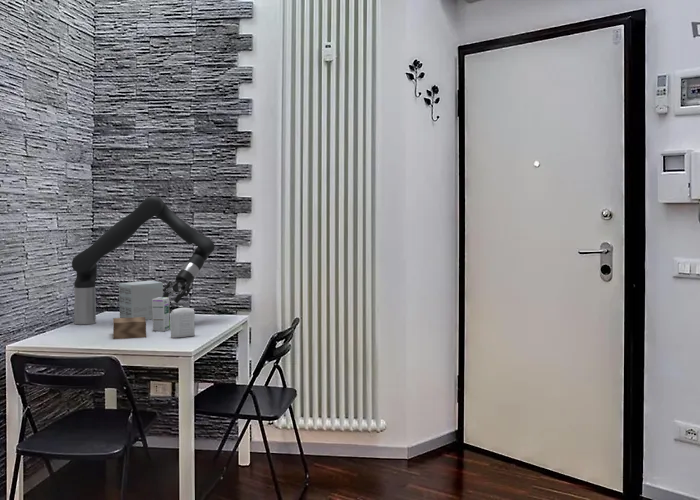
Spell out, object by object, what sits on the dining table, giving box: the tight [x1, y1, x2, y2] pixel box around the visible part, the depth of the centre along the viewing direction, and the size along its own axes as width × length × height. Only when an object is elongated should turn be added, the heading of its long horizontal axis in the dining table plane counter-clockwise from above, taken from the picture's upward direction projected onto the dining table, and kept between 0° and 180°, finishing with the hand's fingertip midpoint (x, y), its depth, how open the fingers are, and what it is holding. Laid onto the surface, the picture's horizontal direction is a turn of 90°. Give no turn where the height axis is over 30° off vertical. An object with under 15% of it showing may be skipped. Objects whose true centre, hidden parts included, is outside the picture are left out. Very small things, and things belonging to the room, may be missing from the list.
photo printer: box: [170, 307, 196, 339], centre depth 286 cm, size 10×4×12 cm, turn 126°
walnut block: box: [112, 317, 147, 340], centre depth 288 cm, size 13×13×7 cm
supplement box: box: [118, 280, 164, 321], centre depth 334 cm, size 17×13×18 cm
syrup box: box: [152, 296, 171, 332], centre depth 302 cm, size 6×6×14 cm
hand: (169, 301), depth 306 cm, fingers open, 8 cm apart
